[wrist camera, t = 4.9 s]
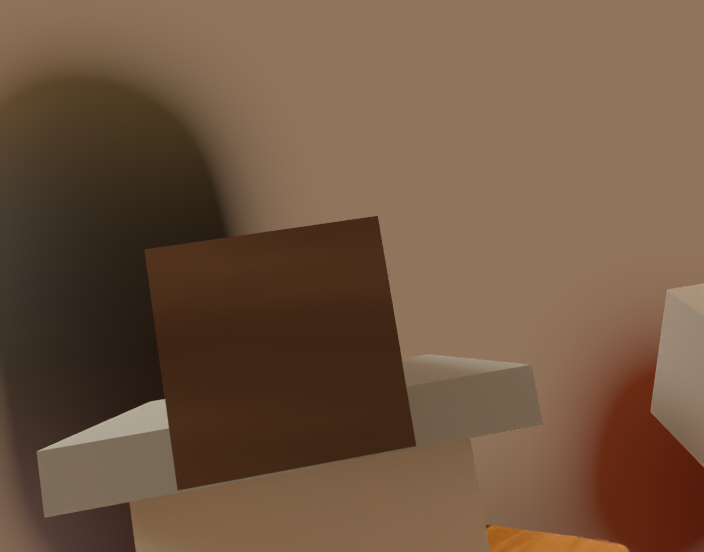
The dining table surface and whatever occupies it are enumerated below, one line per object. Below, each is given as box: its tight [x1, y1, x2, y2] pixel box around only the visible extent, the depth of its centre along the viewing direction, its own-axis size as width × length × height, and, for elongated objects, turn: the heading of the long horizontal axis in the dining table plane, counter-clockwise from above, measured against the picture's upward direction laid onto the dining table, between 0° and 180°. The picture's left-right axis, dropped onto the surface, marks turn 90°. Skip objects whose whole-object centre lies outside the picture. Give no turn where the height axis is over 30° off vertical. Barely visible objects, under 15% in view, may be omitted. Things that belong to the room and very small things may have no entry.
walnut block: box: [145, 216, 416, 491], centre depth 25 cm, size 28×4×4 cm, turn 5°
